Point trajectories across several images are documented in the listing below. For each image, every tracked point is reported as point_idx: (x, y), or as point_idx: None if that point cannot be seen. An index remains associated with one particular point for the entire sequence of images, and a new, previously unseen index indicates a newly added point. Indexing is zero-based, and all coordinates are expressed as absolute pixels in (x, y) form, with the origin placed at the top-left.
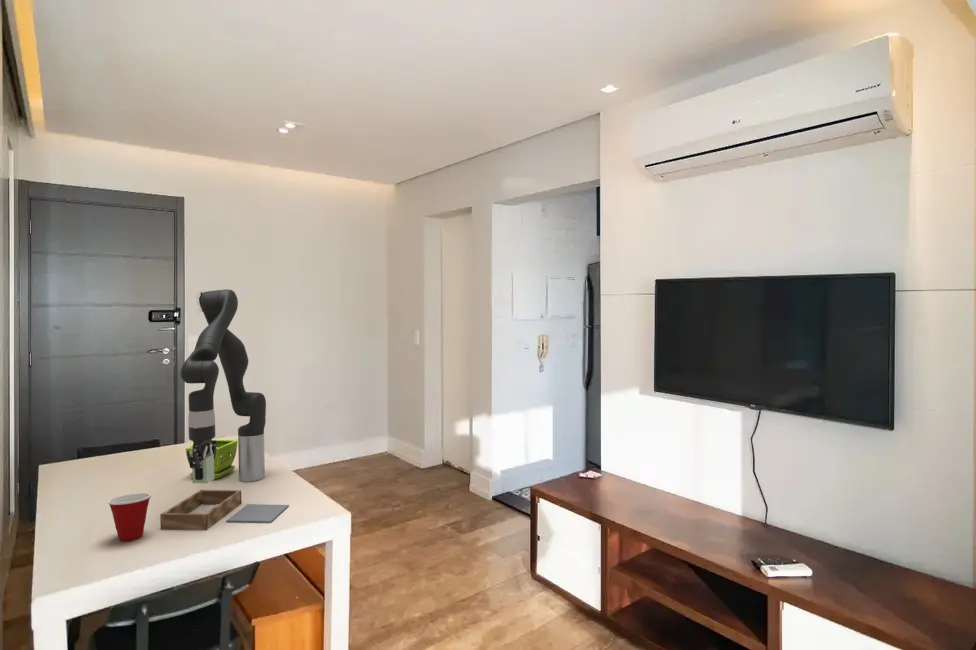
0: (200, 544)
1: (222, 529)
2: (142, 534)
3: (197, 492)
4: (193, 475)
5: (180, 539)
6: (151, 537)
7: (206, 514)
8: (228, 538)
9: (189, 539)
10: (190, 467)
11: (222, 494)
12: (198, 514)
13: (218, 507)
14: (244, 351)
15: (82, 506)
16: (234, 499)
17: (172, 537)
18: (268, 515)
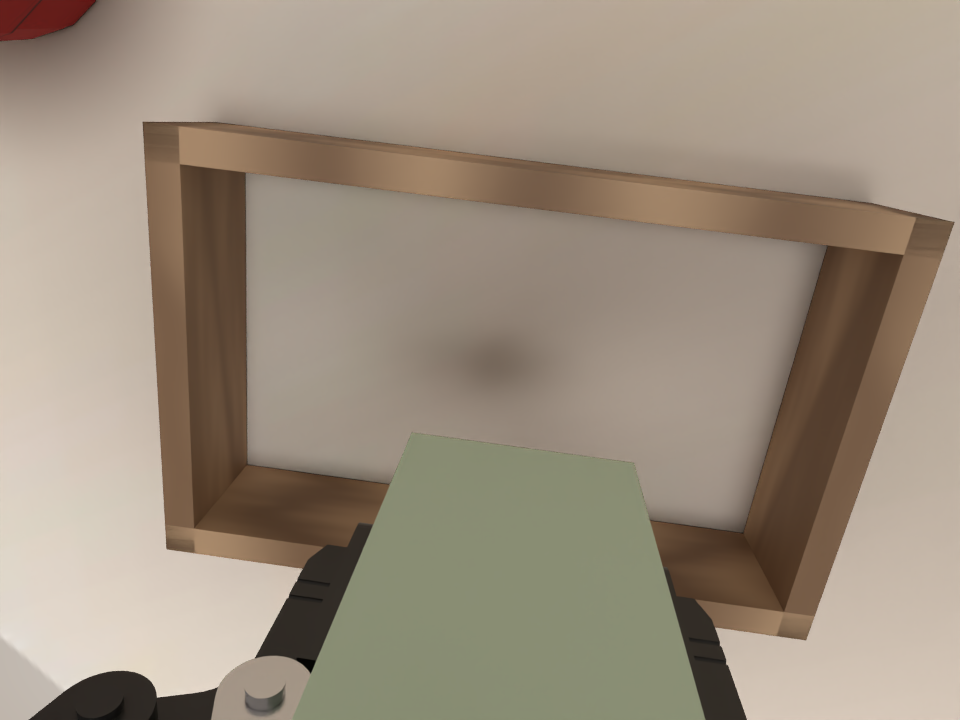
0: (3, 526)
1: (241, 576)
2: (68, 25)
3: (853, 224)
4: (383, 512)
5: (53, 373)
6: (53, 131)
7: (180, 547)
8: (109, 646)
9: (62, 432)
10: (76, 692)
11: (811, 465)
12: (174, 487)
13: None
14: None
15: None
16: None
17: (76, 301)
18: None
